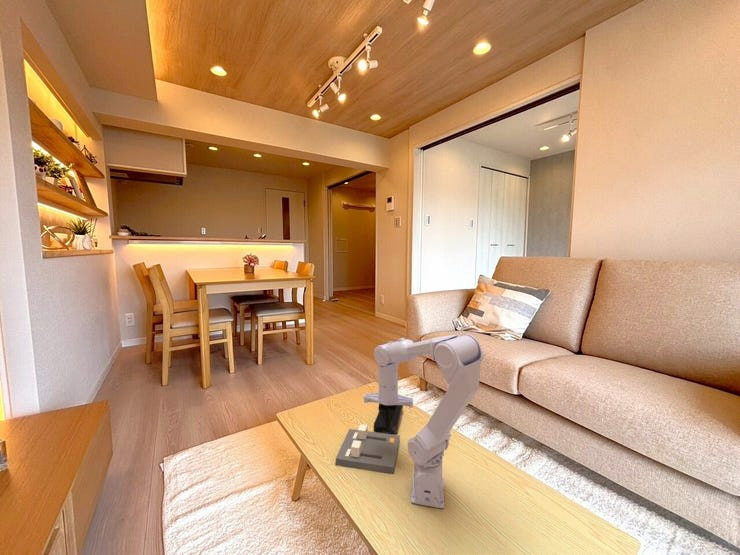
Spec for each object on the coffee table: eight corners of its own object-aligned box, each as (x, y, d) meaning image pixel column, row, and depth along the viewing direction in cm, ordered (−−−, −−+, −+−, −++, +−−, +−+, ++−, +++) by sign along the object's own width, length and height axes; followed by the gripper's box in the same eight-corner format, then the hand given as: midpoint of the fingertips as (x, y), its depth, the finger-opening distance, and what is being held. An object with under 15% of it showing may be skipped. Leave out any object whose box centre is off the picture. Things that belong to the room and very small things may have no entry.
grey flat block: (393, 474, 83) (393, 467, 82) (335, 464, 86) (335, 458, 86) (399, 441, 96) (399, 435, 96) (349, 434, 100) (349, 428, 100)
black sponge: (397, 438, 98) (397, 427, 98) (372, 434, 100) (372, 424, 100) (403, 411, 114) (403, 402, 114) (382, 408, 116) (382, 399, 116)
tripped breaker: (365, 439, 94) (365, 430, 94) (358, 438, 94) (357, 429, 94) (367, 433, 97) (367, 425, 96) (360, 432, 97) (360, 424, 97)
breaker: (359, 457, 86) (358, 448, 86) (351, 456, 87) (351, 446, 86) (361, 450, 89) (361, 441, 89) (354, 449, 90) (353, 440, 89)
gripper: (413, 379, 90) (413, 421, 91) (367, 375, 93) (368, 415, 94) (411, 390, 83) (411, 435, 84) (361, 386, 86) (362, 429, 87)
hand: (388, 426), depth 89 cm, fingers closed
